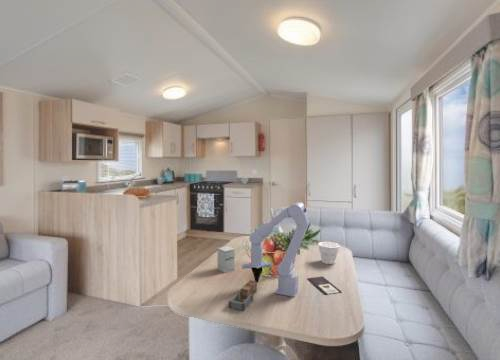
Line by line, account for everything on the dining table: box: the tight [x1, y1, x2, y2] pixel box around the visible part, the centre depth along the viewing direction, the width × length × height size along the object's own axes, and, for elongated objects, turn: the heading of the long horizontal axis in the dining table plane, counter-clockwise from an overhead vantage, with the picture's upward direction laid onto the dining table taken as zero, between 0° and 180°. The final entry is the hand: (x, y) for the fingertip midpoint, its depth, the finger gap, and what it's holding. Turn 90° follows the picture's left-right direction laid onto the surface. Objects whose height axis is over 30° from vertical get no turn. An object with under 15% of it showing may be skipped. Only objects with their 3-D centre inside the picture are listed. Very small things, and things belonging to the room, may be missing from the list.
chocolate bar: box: [307, 276, 342, 295], centre depth 146 cm, size 9×1×18 cm
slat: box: [240, 280, 258, 301], centre depth 135 cm, size 10×4×5 cm, turn 154°
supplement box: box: [217, 245, 236, 273], centre depth 165 cm, size 7×7×13 cm
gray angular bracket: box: [228, 291, 254, 312], centre depth 127 cm, size 8×10×3 cm
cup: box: [318, 241, 340, 265], centre depth 178 cm, size 12×12×11 cm
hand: (256, 281), depth 144 cm, fingers closed
